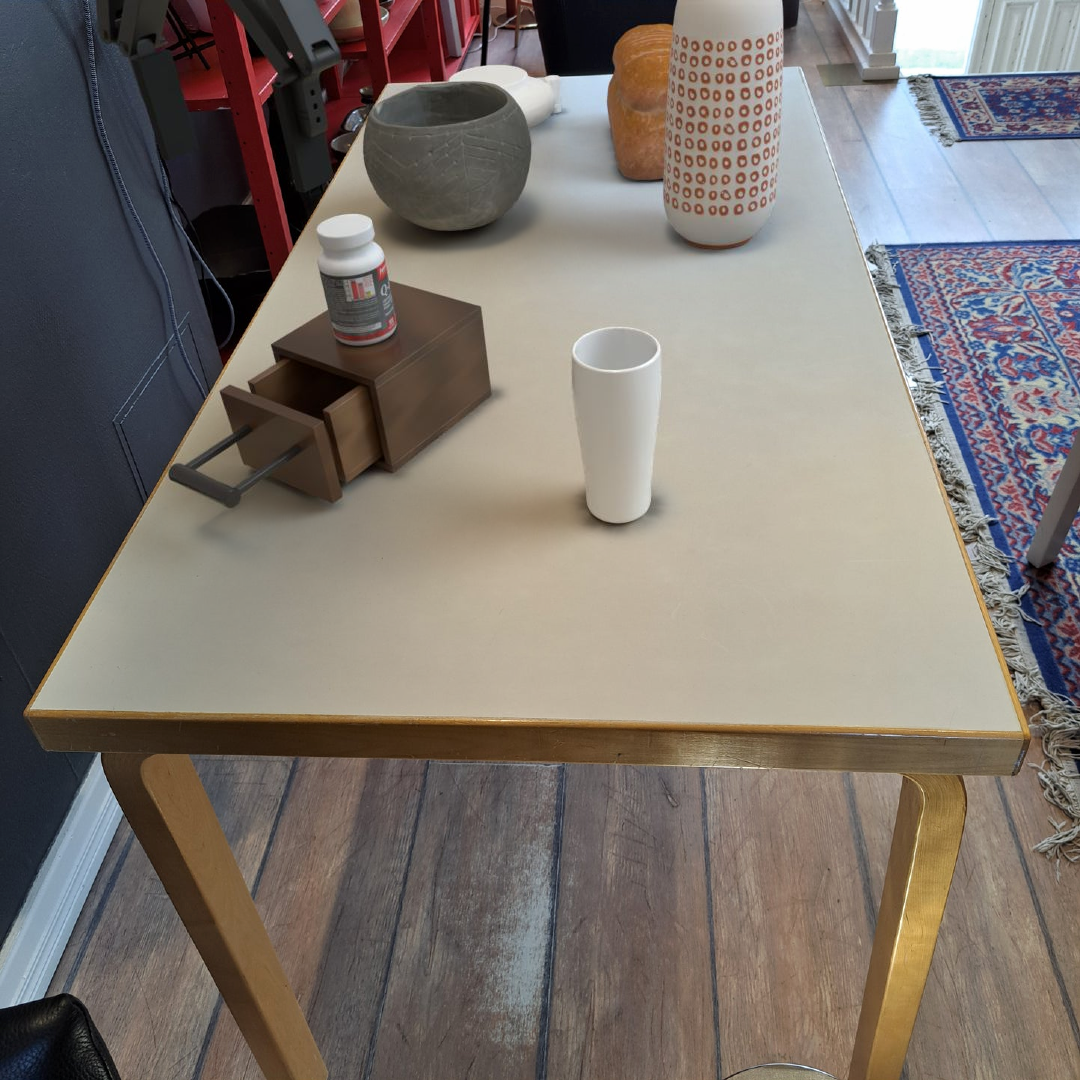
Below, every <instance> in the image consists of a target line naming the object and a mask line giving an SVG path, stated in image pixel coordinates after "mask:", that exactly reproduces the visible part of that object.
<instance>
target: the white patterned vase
mask: <svg viewBox="0 0 1080 1080" xmlns="http://www.w3.org/2000/svg"><path fill="white" fill-rule="evenodd" d="M672 26H673V33H672V42H671V52H670V63H669V78H668V93H667V108H666V129H665V153H664V178H663V181H662V199H663V206H664V211H665V213H666V217H667V219H668V221H669V222H670V224H671V226H672V227H673V229H674V230H675V231H676V232H677V234H679V235H680V237H681V238H682V239H683V240H684V241H685V242H686V243H687V244H689V245H691V246H695V247H698V248H702V249H709V250H723V249H725V250H726V249H731V248H736V247H739V246H742V245H745V244H747V243H748V242H749V241H751V240H752V238H753V237H754V236H755V235H756V234H757V233H758V232H759V231H760V230H761V229H762V228H763V227H764V226H765V224H766V223H767V221H768V220H769V219H770V216H771V214H772V213H773V210H774V206H775V204H776V203H775V202H776V197H777V191H778V190H777V189H778V177H779V159H780V142H781V128H782V127H781V126H782V108H783V107H782V106H783V80H784V79H783V78H784V6H783V0H677V1H676V5H675V10H674V16H673V24H672Z"/></svg>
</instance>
